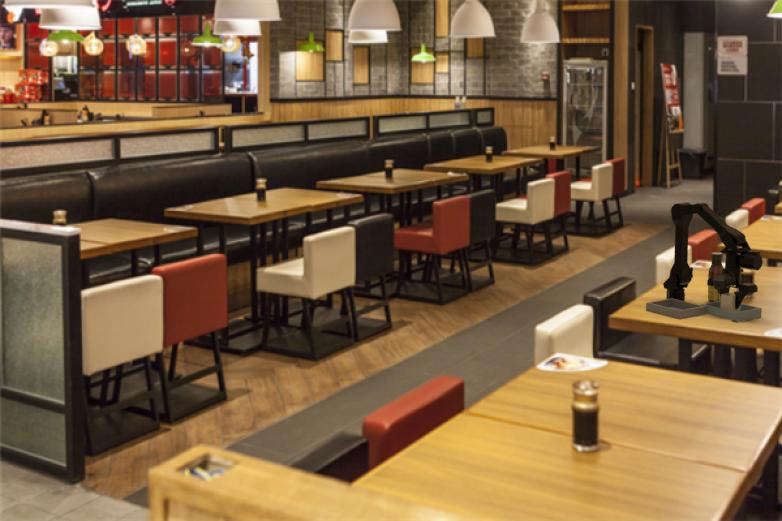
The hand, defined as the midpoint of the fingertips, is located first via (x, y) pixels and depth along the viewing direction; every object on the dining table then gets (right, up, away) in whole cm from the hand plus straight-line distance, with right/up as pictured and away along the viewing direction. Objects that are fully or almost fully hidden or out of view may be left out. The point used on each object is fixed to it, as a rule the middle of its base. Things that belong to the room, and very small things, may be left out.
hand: (730, 307), depth 374 cm
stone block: (0, -1, 0) cm, 1 cm away
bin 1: (-20, -3, +3) cm, 20 cm away
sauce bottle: (+1, +1, +21) cm, 21 cm away
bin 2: (0, -3, +1) cm, 3 cm away
